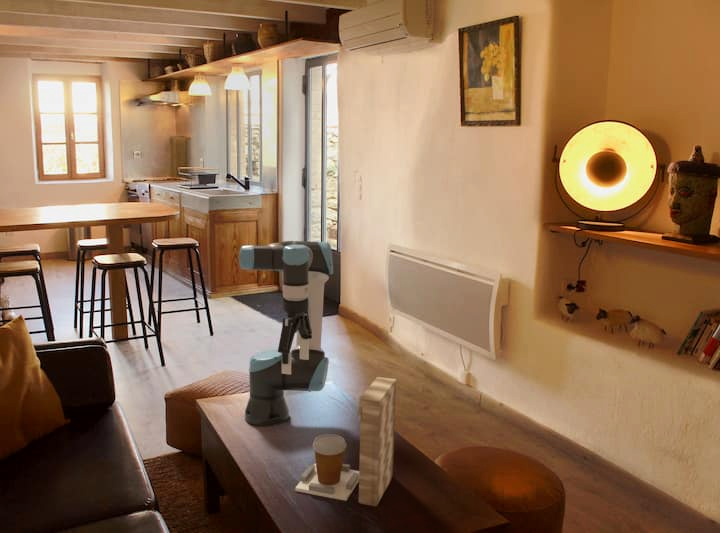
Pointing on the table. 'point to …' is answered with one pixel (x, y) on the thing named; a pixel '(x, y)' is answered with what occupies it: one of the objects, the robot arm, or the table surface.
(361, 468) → the upright plywood slab
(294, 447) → the table surface
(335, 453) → the disposable coffee cup
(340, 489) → the seat plate
